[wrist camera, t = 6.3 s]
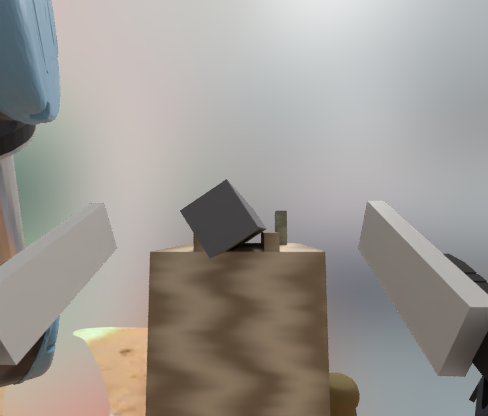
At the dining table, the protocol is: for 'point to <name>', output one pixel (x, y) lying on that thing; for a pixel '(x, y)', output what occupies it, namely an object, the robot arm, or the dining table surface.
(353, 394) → the olive pawn
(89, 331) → the dining table surface
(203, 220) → the bar
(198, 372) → the tall wooden block
